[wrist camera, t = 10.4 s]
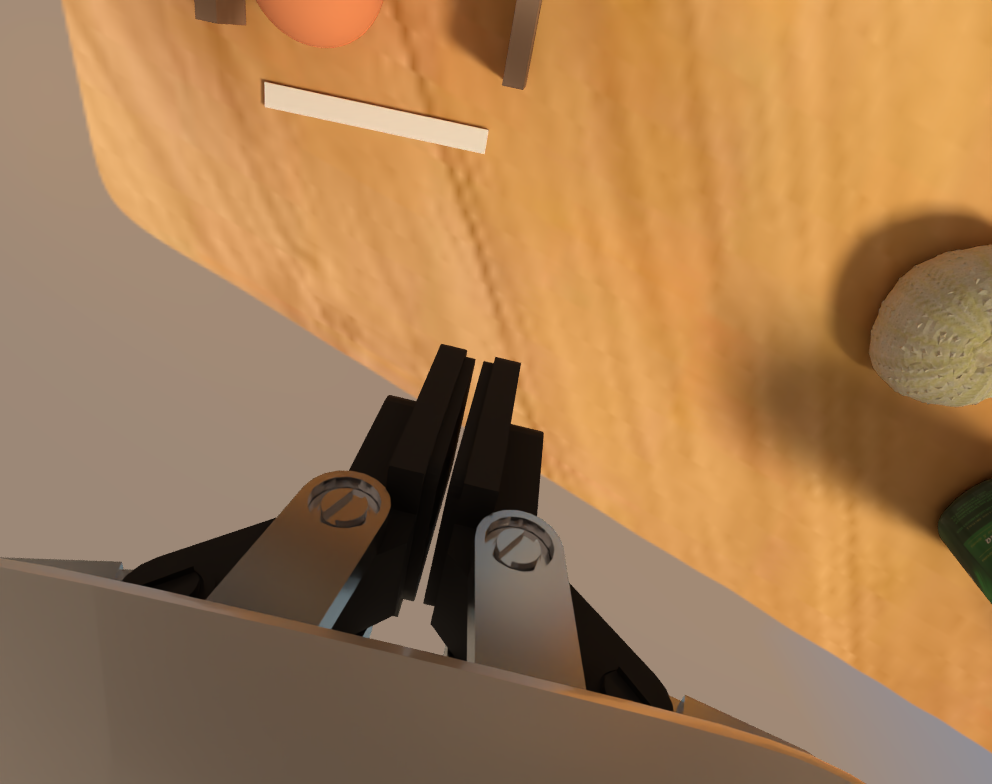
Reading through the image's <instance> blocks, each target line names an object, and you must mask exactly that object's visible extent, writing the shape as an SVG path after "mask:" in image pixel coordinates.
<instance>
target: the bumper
mask: <svg viewBox="0 0 992 784" xmlns="http://www.w3.org/2000/svg"><path fill="white" fill-rule="evenodd" d="M194 2H195V17H196V19H198V20H203V21H208V22H212V23H217V24H233V25H246V9H245V0H194ZM541 3H542V0H517V1H516V7H515V13H514V19H513V25H512V31H511V36H510V42H509V48H508V54H507V60H506V66H505V71H504V77H503V83H502V85H503V86H507V87H512V88H517V89H521V90H523V89H524V88H525V86H526V82H527V77H528V72H529V66H530V61H531V56H532V51H533V45H534V40H535V35H536V29H537V24H538V19H539V14H540V8H541Z"/></svg>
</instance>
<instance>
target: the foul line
mask: <svg viewBox="0 0 992 784" xmlns="http://www.w3.org/2000/svg"><path fill="white" fill-rule="evenodd" d="M264 84H265V107H268V108H272V109H277V110H282V111H286V112H291V113H296V114H300V115H305V116H310V117H314V118H319V119H324V120H328V121H333V122H338V123H342V124H347V125H352V126H356V127H361V128H366V129H370V130H375V131H380V132H384V133H389V134H394V135H398V136H403V137H408V138H412V139H417V140H422V141H426V142H431V143H436V144H440V145H445V146H450V147H454V148H459V149H464V150H468V151H473V152H478V153H482V154H485V149H486V143H487V137H488V131H489V130H487V129H483V128H478V127H473V126H469V125H464V124H459V123H455V122H450V121H446V120H441V119H436V118H432V117H427V116H422V115H418V114H413V113H408V112H404V111H399V110H394V109H390V108H385V107H380V106H376V105H371V104H367V103H362V102H357V101H353V100H348V99H343V98H339V97H334V96H329V95H325V94H320V93H315V92H311V91H306V90H302V89H297V88H292V87H288V86H283V85H278V84H274V83H269V82H264Z"/></svg>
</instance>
